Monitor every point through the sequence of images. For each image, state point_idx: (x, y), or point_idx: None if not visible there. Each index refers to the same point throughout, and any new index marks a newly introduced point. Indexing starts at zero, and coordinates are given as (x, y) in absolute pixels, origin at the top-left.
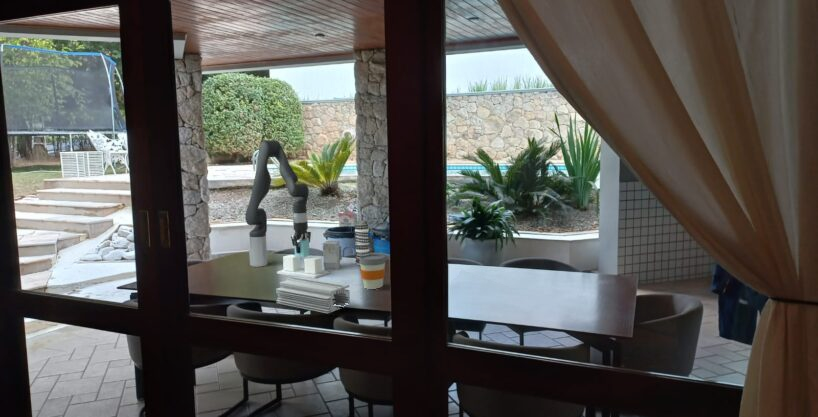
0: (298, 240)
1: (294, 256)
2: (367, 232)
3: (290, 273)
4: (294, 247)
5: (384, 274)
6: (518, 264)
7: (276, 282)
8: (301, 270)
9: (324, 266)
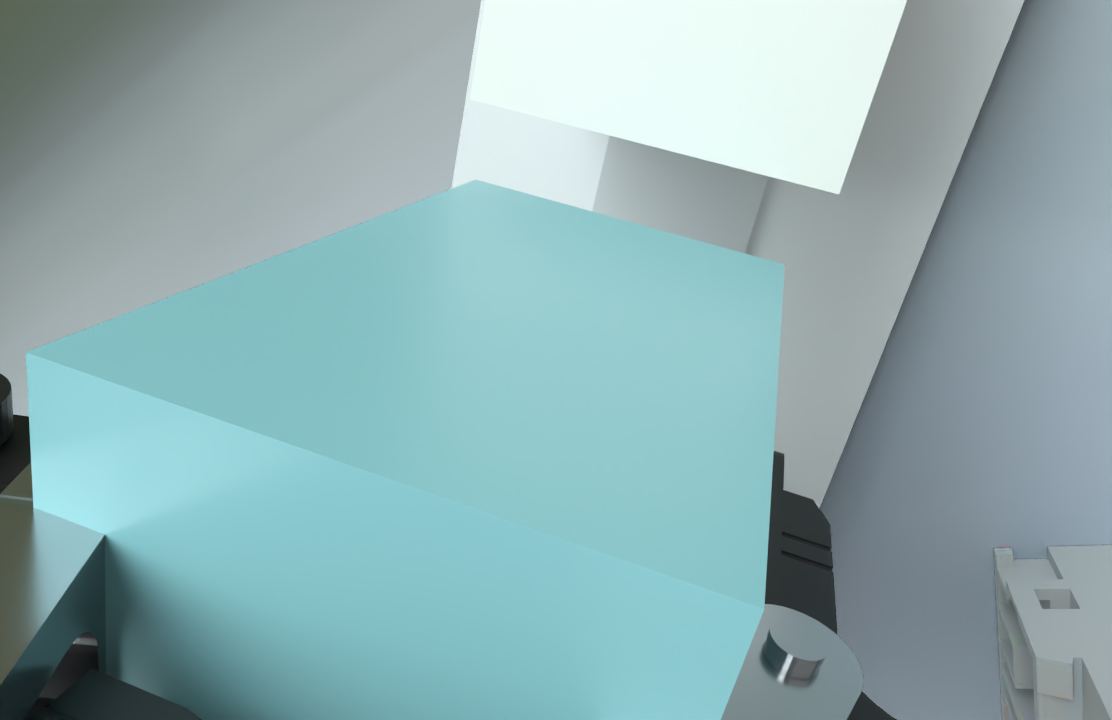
0: (284, 606)
1: (646, 64)
2: None
3: (470, 77)
4: (313, 243)
5: None
6: None
7: (40, 85)
8: (674, 231)
9: (1053, 598)
